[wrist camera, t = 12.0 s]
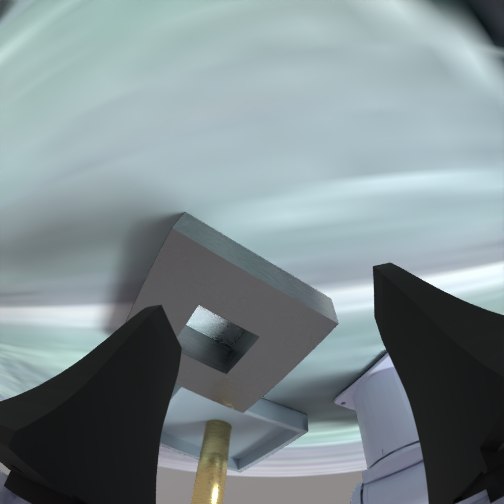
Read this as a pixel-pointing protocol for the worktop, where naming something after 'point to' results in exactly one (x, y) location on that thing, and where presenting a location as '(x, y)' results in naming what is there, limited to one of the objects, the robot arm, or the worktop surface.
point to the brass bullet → (212, 463)
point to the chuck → (233, 313)
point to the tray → (243, 427)
